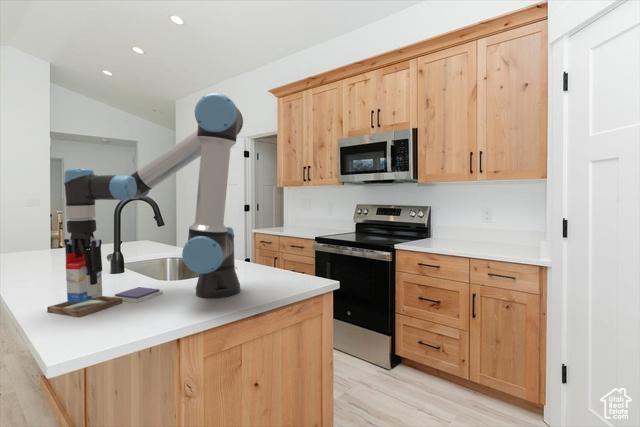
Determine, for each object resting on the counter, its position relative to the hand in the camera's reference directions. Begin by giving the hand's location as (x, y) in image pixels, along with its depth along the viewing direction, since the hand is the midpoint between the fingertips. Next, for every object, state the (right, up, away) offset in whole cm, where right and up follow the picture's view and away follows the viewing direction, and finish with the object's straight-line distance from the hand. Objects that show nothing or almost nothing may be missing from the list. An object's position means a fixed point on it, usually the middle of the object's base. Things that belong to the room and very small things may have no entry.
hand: (85, 293), depth 112 cm
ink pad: (+11, -3, +11) cm, 16 cm away
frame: (0, -4, 0) cm, 4 cm away
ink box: (0, -2, 0) cm, 2 cm away
